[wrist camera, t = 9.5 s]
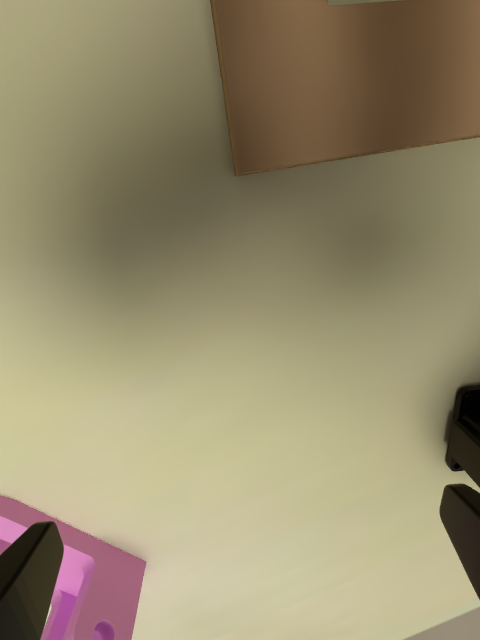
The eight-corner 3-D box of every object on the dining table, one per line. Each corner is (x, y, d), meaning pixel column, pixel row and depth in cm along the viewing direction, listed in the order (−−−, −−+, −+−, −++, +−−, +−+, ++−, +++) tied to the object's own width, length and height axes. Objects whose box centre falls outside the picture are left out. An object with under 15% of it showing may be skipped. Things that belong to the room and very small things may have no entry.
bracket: (146, 560, 26) (122, 686, 19) (105, 599, 27) (69, 729, 20) (-22, 480, 22) (-122, 603, 15) (-61, 530, 23) (-168, 663, 17)
